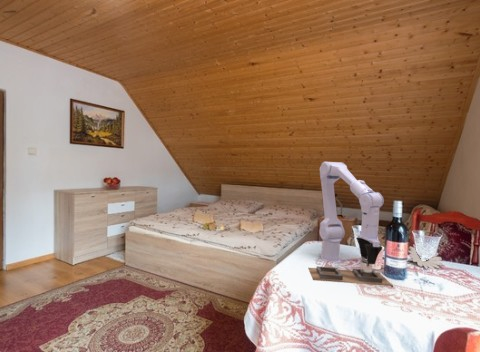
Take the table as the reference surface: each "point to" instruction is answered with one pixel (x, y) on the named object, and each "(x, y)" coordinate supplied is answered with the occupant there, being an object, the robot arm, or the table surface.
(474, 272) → the table surface
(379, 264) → the beverage cup
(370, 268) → the metal cylinder
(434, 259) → the flower
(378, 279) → the dock board
